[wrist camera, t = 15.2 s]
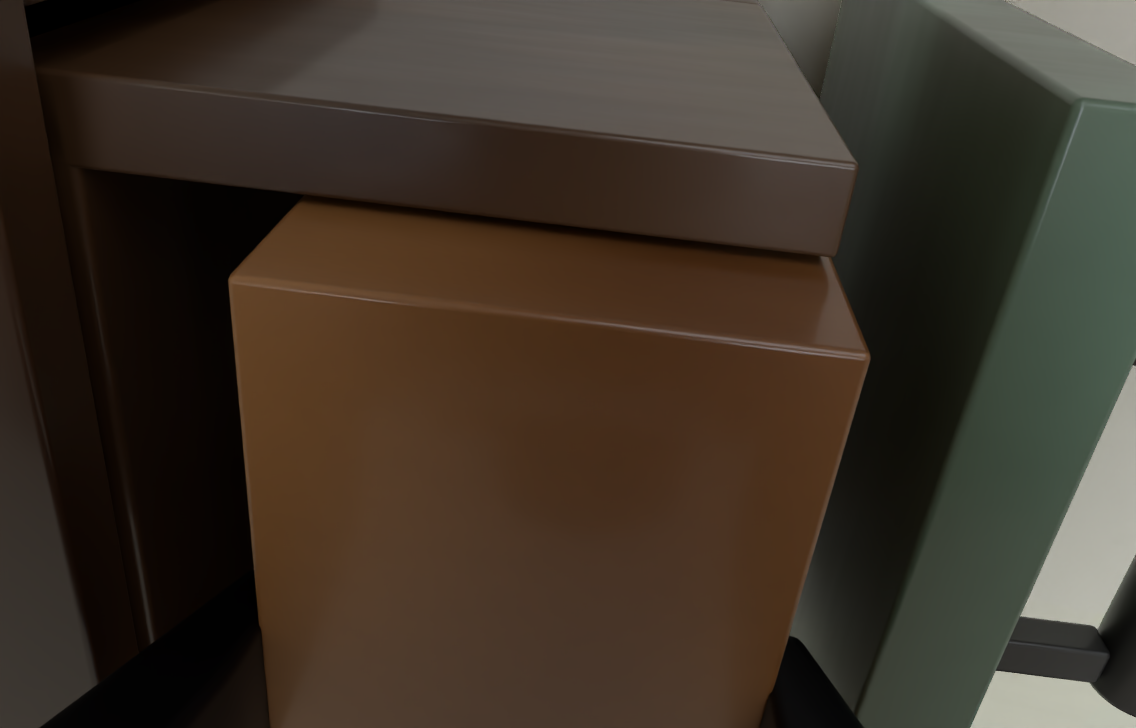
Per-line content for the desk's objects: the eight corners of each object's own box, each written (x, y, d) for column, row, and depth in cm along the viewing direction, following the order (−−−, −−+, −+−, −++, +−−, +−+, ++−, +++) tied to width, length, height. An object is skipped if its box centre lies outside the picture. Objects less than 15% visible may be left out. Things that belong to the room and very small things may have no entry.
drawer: (1246, -2, 14) (1933, 197, 7) (1002, 575, 20) (1220, 1043, 12) (306, -108, 15) (-79, -36, 7) (327, 491, 20) (129, 896, 13)
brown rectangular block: (336, 774, 12) (284, 930, 11) (313, 180, 8) (224, 275, 7) (683, 820, 12) (688, 985, 10) (827, 242, 8) (874, 355, 7)
